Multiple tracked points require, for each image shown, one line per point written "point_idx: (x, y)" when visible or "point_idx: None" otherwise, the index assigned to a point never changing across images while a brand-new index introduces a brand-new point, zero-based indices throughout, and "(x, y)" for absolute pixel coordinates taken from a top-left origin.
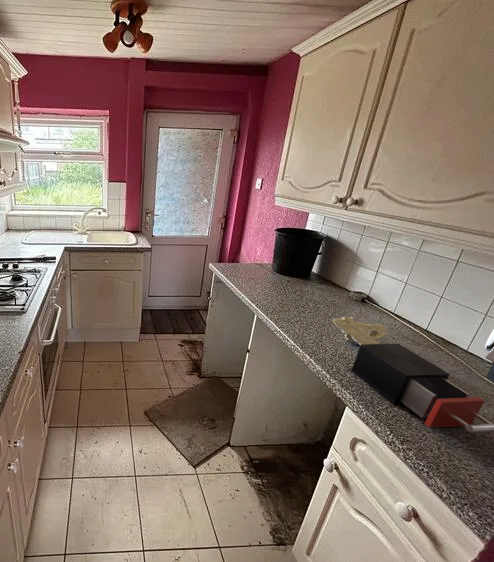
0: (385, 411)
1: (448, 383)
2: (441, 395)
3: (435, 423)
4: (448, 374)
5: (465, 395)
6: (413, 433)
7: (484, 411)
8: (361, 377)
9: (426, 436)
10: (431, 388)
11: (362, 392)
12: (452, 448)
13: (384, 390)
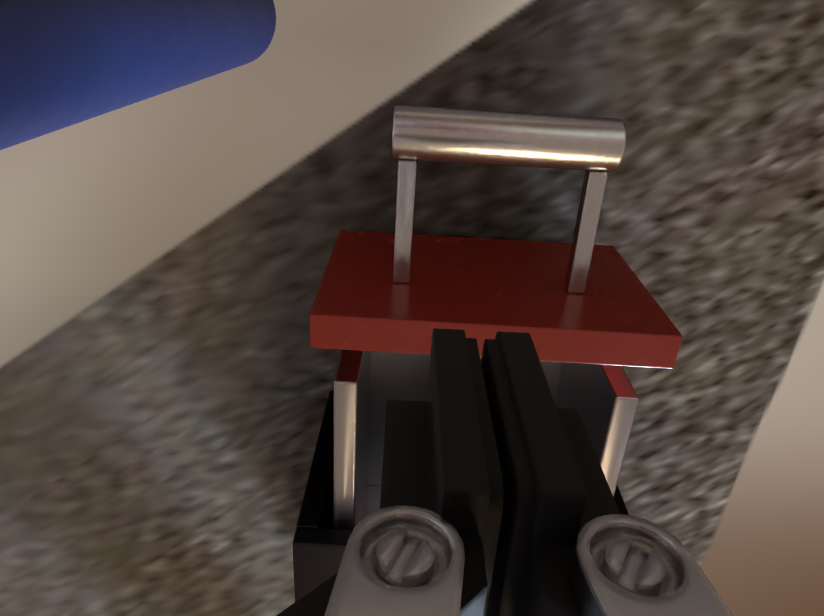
0: (685, 372)
1: (356, 477)
2: (366, 413)
3: (592, 255)
4: (303, 541)
5: (359, 377)
6: (714, 231)
7: (105, 309)
8: None
9: (665, 205)
10: (364, 463)
11: (655, 487)
12: (617, 115)
13: None
